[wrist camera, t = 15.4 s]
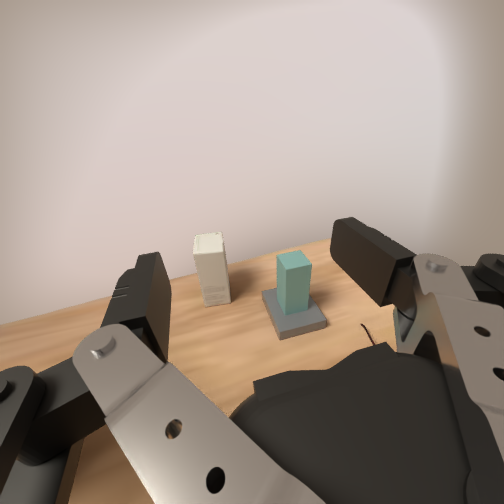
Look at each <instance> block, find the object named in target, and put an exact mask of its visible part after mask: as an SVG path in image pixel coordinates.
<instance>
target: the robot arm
mask: <svg viewBox="0 0 504 504" xmlns="http://www.w3.org/2000/svg"><path fill="white" fill-rule="evenodd" d="M330 253H331V256H332V259H333V260H334V261H335V262H336V263H337V264H338V265H339V266H340V267H341V268H342V269H343V270H344V271H345V272H346V273H347V274H348V275H349V276H350V277H351V278H352V279H353V280H354V281H355V282H356V283H357V284H358V285H359V286H360V287H361V288H362V289H363V290H364V291H365V292H366V293H367V294H368V295H369V296H370V297H371V298H372V299H373V300H374V301H375V302H376V303H377V304H378V305H379V306H380V307H382V306H386V305H390V304H394V305H395V308H394V310H393V318H394V326H395V335H396V344H397V352H394V350H393V349H392V348H391V347H390V346H389V345H388V344H387V342H383V343H380V344H377V345H373V346H370V347H367V348H363V349H360V350H357V351H355V352H353V353H352V354H350V355H349V356H348V357H346V358H345V359H343V360H342V361H340V362H339V363H337V364H336V365H335V366H333V367H332V368H330V369H327V370H300V371H286V372H283V373H279V374H276V375H273V376H269V377H266V378H263V379H259V380H256V381H253V385H254V394H252V395H251V396H249V397H248V398H247V399H246V400H244V401H243V402H242V403H241V404H240V405H239V406H238V407H237V408H236V409H235V410H234V411H233V413H232V414H231V415H230V417H229V418H228V417H227V416H226V415H225V414H224V413H223V412H222V411H221V410H220V409H219V408H218V407H217V406H216V405H215V404H214V403H213V402H212V401H210V400H209V399H208V398H207V397H206V396H205V395H204V394H203V393H202V392H201V391H200V390H199V389H198V388H197V387H196V386H195V385H194V384H193V383H192V382H191V381H190V380H189V379H187V378H186V377H185V376H184V375H183V374H182V373H181V372H180V371H179V370H178V369H177V368H176V367H175V366H174V365H173V364H171V363H170V362H167V360H168V344H169V328H170V312H171V295H172V293H171V285H170V281H169V278H168V275H167V272H166V269H165V267H164V264H163V261H162V258H161V255H160V253H159V252H154V253H149V254H143V255H139V256H138V259H137V263H136V266H135V268H133V269H129V270H127V271H126V272H125V273H124V274H123V275H122V276H121V277H120V278H119V280H118V282H117V285H116V287H115V289H116V290H114V293H113V295H112V298H111V300H110V303H109V306H108V308H107V311H106V314H105V316H104V319H103V322H102V324H101V327H100V328H99V329H97V330H95V331H94V332H92V333H91V334H89V335H88V336H87V337H86V338H84V339H83V340H82V341H81V342H80V344H79V345H78V346H77V348H76V349H75V351H74V354H73V357H71V358H69V359H67V360H65V361H63V362H61V363H59V364H57V365H55V366H52V367H50V368H48V369H46V370H44V371H42V372H40V373H38V374H36V373H35V372H34V371H33V370H32V369H31V368H30V367H27V366H16V367H12V368H9V369H6V370H3V371H1V372H0V504H68V501H69V497H70V493H71V489H72V485H73V481H74V477H75V473H76V469H77V465H78V461H79V457H80V453H81V449H82V445H83V441H84V437H86V436H87V435H89V434H91V433H92V432H94V431H95V430H97V429H99V428H100V427H102V426H103V425H105V424H107V426H108V427H109V429H110V431H111V432H112V434H113V436H114V437H115V439H116V441H117V442H118V444H119V446H120V447H121V449H122V450H123V452H124V454H125V455H126V457H127V459H128V460H129V462H130V464H131V465H132V467H133V468H134V470H135V472H136V473H137V475H138V477H139V478H140V480H141V482H142V483H143V485H144V487H145V488H146V490H147V491H148V493H149V495H150V496H151V498H152V500H153V501H154V503H155V504H504V255H500V254H484V255H482V256H481V257H480V258H479V260H478V262H477V263H476V265H475V266H459V265H458V264H457V263H456V262H454V261H452V260H450V259H448V258H446V257H443V256H439V255H435V254H419V255H416V254H414V253H413V252H411V251H410V250H408V249H407V248H405V247H403V246H402V245H400V244H399V243H397V242H395V241H394V240H391V239H390V238H389V237H387V236H384V234H382V233H381V232H379V231H378V230H376V229H374V228H371V227H368V226H366V225H365V224H363V223H362V222H360V221H358V220H357V219H355V218H353V217H349V218H344V219H338V220H336V221H335V222H334V225H333V232H332V238H331V245H330ZM164 363H165V364H164Z"/></svg>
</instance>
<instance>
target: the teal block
mask: <svg viewBox="0 0 504 504" xmlns="http://www.w3.org/2000/svg"><path fill="white" fill-rule="evenodd" d="M311 269H312V264H311V262H310V261H309V260H308V259H307V258H306V256H305V255H304V254H303V253H302V252H301V250H299V251H294V252H289V253H284V254H279V255H277V300H278V302H279V304H280V306H281V308H282V310H283V312H284V314H285V316H286V315H290V314H294V313H298V312H302V311H306V310H307V309H308V299H309V289H310V279H311Z"/></svg>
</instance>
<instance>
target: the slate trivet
mask: <svg viewBox="0 0 504 504" xmlns="http://www.w3.org/2000/svg"><path fill="white" fill-rule="evenodd" d="M262 300H263V302H264V304H265V307H266V309H267V312H268V314H269V316H270V319H271V321H272V324H273V326H274V328H275V331H276V333H277V335H278V338H279V340H283V339H287V338H290V337H294V336H298V335H301V334H305V333H309V332H312V331H316V330H320V329H323V328H325V327H326V321H327V319H326V318H325V316H324V315H323V314H322V312H321V311H320V309H319V308H318V306H317V305H316V303H315V302H314V300H313V299H312V297H311V296H310V294H309V299H308V309H307V310H306V311H302V312H298V313H294V314H290V315H286V316H285V314H284V312H283V310H282V308H281V306H280V304H279V302H278V300H277V288H274V289H270V290H266V291H262Z"/></svg>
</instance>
